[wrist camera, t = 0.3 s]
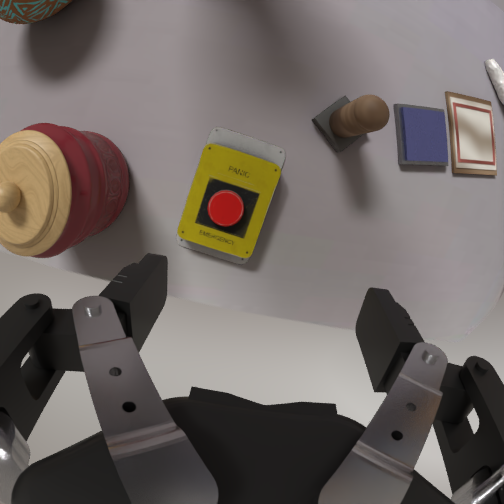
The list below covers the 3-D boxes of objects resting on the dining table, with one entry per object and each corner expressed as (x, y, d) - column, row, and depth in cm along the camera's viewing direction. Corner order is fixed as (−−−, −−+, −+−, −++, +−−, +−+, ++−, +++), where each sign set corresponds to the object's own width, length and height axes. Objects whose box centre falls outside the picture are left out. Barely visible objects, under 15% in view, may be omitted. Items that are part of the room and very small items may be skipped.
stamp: (311, 119, 35) (342, 101, 24) (341, 97, 34) (380, 74, 23) (336, 152, 36) (376, 147, 25) (365, 130, 35) (411, 119, 24)
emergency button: (167, 251, 34) (210, 119, 31) (174, 242, 38) (213, 125, 35) (247, 277, 35) (294, 148, 32) (245, 265, 40) (287, 150, 36)
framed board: (444, 92, 34) (448, 91, 33) (488, 102, 34) (492, 101, 33) (451, 172, 37) (455, 173, 36) (494, 175, 37) (497, 175, 37)
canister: (150, 201, 36) (86, 229, 19) (74, 250, 37) (-7, 301, 20) (105, 113, 33) (23, 83, 16) (34, 168, 34) (-58, 178, 17)
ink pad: (393, 104, 35) (399, 102, 33) (439, 110, 35) (446, 109, 33) (398, 164, 37) (404, 164, 35) (444, 165, 37) (450, 165, 35)
